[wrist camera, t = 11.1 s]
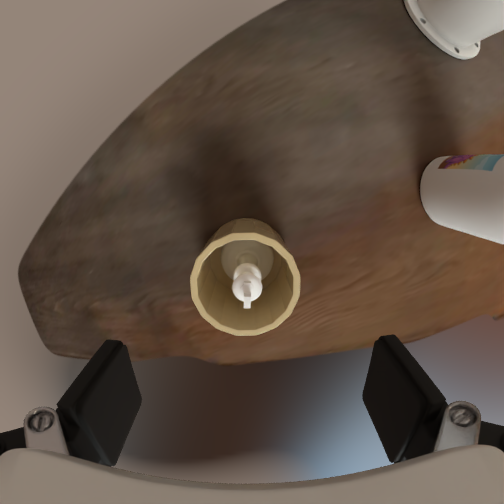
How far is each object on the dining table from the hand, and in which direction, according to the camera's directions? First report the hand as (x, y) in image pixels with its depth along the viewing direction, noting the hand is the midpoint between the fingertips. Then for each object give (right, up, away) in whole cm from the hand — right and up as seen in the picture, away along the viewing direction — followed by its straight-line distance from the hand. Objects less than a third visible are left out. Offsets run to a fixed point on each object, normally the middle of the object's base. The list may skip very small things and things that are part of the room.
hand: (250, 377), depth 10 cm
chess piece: (0, +4, +17) cm, 18 cm away
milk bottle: (+21, +11, +17) cm, 29 cm away
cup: (0, +4, +18) cm, 18 cm away
